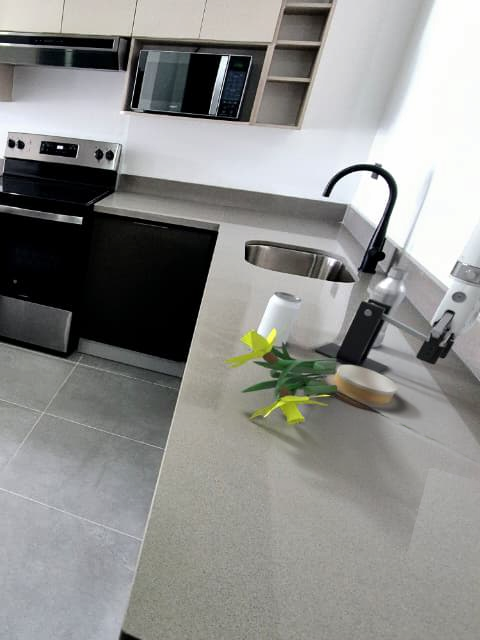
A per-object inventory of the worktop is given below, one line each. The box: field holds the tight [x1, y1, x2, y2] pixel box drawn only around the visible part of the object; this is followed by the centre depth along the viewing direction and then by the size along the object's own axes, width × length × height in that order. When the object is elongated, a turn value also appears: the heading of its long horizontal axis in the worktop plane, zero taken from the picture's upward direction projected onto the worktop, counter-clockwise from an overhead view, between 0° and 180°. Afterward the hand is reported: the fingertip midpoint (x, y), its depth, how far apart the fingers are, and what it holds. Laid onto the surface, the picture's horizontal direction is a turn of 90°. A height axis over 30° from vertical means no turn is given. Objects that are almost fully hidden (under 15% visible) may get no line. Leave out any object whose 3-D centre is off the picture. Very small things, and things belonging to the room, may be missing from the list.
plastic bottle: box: [370, 266, 410, 349], centre depth 122 cm, size 6×7×20 cm
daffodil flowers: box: [222, 318, 338, 426], centre depth 89 cm, size 17×15×35 cm
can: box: [256, 291, 302, 348], centre depth 117 cm, size 6×6×12 cm
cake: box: [330, 364, 398, 414], centre depth 101 cm, size 14×14×4 cm
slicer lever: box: [371, 303, 448, 347], centre depth 105 cm, size 15×6×2 cm, turn 35°
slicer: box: [314, 298, 392, 374], centre depth 112 cm, size 12×9×15 cm
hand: (430, 357), depth 102 cm, fingers closed on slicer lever, 5 cm apart
